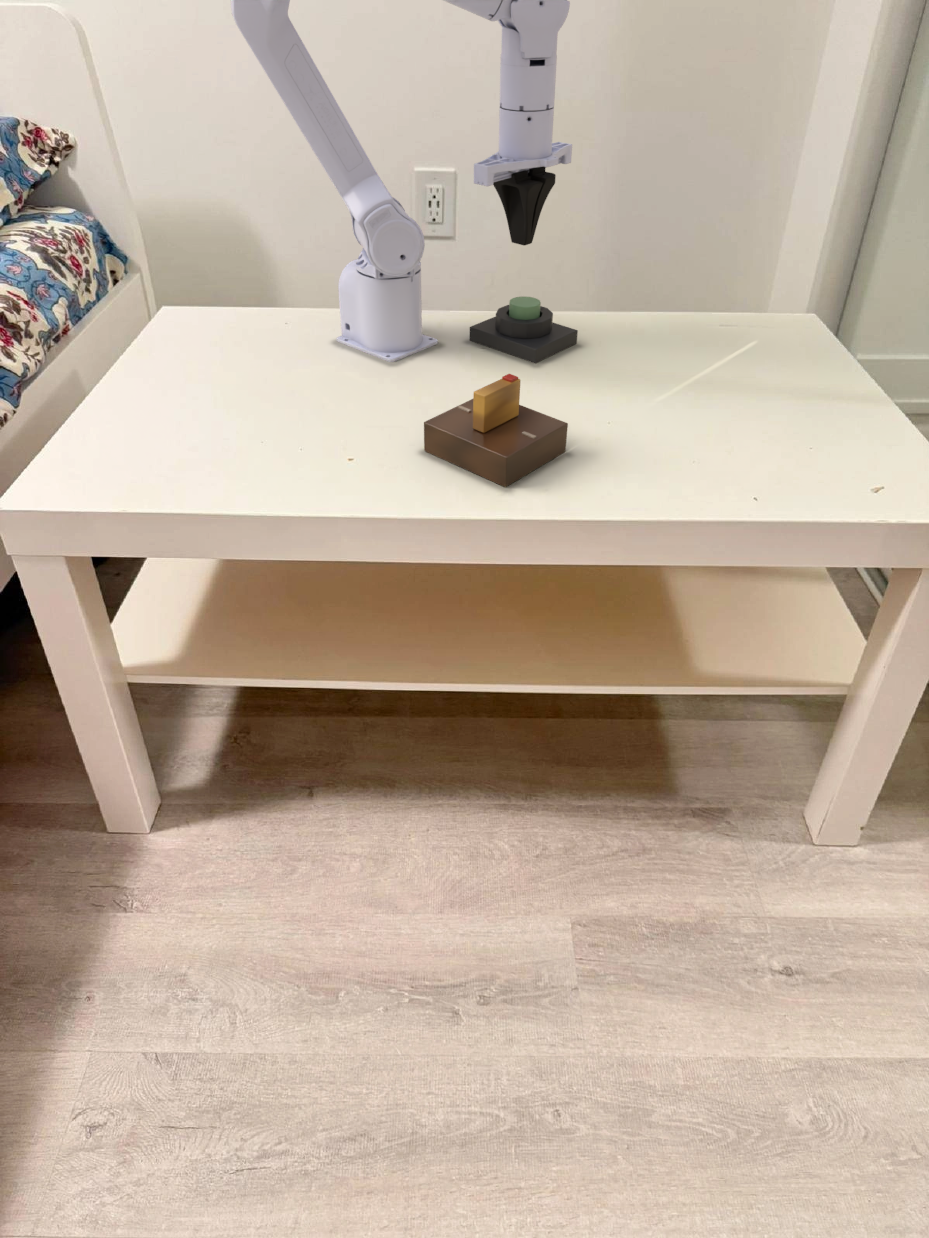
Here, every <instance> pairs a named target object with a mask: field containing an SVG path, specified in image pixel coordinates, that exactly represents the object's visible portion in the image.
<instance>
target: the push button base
mask: <svg viewBox="0 0 929 1238" xmlns="http://www.w3.org/2000/svg"><path fill="white" fill-rule="evenodd" d="M553 319H554V312H552V311H551V310H550V309H549V308H548V307H545V306H542V305H540V317H539V318H537V319H531V320H520V319H515V318H512V317H509V304H507V305H504V306H501V307H499V308H498V309H497V310H496V312H495V316H493V317H491V318H488V319H486V320H484V321H480V322H479V323H476V324H474V325H471V326H469V339H468V340H469V342H472V343H475V344H478V345H481V346H483V347H487V348H490V349H492V350H495V351H498V352H500V353H501V352H502V353H505V354H506V355H510V356H513V357H515V358H518V359H521V360H524V361H526V362H529V363H532V364H537V363H539V362H541V361H544V360H546V359H549V358H550V357H552V356H554V355H556V354H559V353H561V352H563V351H564V350H567V349H569V348H571V347H573V346H575V345H577V344H578V343H577V342H578V332H579V331H578V330H577V329H575V328H572V327H569V326H565V325H562V324H560V323H555V322H553Z"/></svg>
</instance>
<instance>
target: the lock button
mask: <svg viewBox="0 0 929 1238" xmlns="http://www.w3.org/2000/svg"><path fill="white" fill-rule="evenodd" d="M508 302H509V304H508V305H509V317H512V318H515V319H520V320H531V319H537V318H539V317H540V306H542V305H541V304H542V302H541V300H540V299H538V298H536V297H534V296H533V297H532V296H524V295H523V296H515V297H512V298H511V299H510V300H509V301H508Z"/></svg>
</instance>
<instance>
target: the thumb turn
mask: <svg viewBox="0 0 929 1238" xmlns="http://www.w3.org/2000/svg"><path fill="white" fill-rule="evenodd" d="M472 395H473V396H472V397H473V398H472V399H473V429H476V430H478V431H480V432H483V433H485V432H487V431H489V430H491V429H493V428H495V427H497V426H499V425H501V424H503V423H505V422H507V421H508V420H510V419H512V418H514V417H516V416H518V415H519V405H520V397H521V396H520V395H521V378H519V376H517V375H514V374H512V373H508V374H507V373H506V374H505V375H503V376H502V377H501V378H500V379H498V380H496V381H493V382H492V383H489V384H487V385H485V386H483V387H481V388H479V389H477V390H474V391H473V394H472Z"/></svg>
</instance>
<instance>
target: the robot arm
mask: <svg viewBox="0 0 929 1238" xmlns="http://www.w3.org/2000/svg"><path fill="white" fill-rule="evenodd" d="M442 1H443V2H446V3H448V4H451V5H453V6H455V7H458V8H460V9H462V10H464V11H467V12H469V13H471V14H473V15H475V16H478V17H480V18H483V19H484V20H487V21H489V22H498V24H499V25H500V26H501V45H500V46H501V47H500V48H501V51H500V66H499V109H498V111H499V114H498V151H497V152H495V153H494V154H492V155H490V156H488V157H486V158H484V159H483V160H480V161H478V162H475V163H473V184H475V185H480V186H484V187H491V186H493V187H494V189H495V191H496V192H497V195H498V197H499V199H500V202H501V204H502V207H503V210H504V214H505V217H506V221H507V226H508V231H509V236H510V240H511V243H512V244H516V245H520V246H528V245H531V244H533V240H534V237H535V234H536V229H537V226H538V223H539V220H540V217H541V212H542V210H543V208H544V205H545V202H546V201H547V199H548V196H549V194H550V193H551V190H552V189H553V188H554V186H555V184H556V177H557V175H556V174H555V173H553V172H548V171H546V168H550V167H554V166H557V165H561V164H562V165H568V164H571V163H572V155H573V144H572V143H568V142H562V141H556V142H553V134H554V133H553V132H554V116H555V115H554V114H555V98H556V96H555V95H556V81H557V80H556V79H557V64H558V63H557V60H558V55H557V54H558V53H557V51H558V35H559V31H560V30H561V28H562V27H563V26H564V24H565V22H566V19H567V17H568V16H569V15H568V14H569V12H570V5H571V2H570V0H442ZM290 2H291V0H230V11H231V15H232V18H233V21H234V23H235V25H236V27H237V29H238V30H239V32H240V33H241V36H242V37H243V38H244V40H245V42H246V43H247V45H248V46H249V49H250V50H251V52H252V53H253V56H255V58H256V60H257V61H258V63H259V65H260V66H261V68H262V69H263V71H264V73H265V74H266V76H267V78H268V80H269V81H270V83H271V85H272V86H273V88H274V89H275V91H276V93H277V94H278V96H279V97H280V99H281V101H282V102H283V103H284V106H285V107H286V109H287V111H288V112H289V114H290V116H291V117H292V119H293V121H294V123H295V124H296V125H297V127H298V129H299V130H300V132H301V134H302V136H303V137H304V138H305V140H306V142H307V143H308V145H309V147H310V149H311V150H312V152H313V154H314V155H315V157H316V158H317V160H318V162H319V164H320V165H321V167H322V168H323V170H324V172H325V173H326V175H327V177H328V178H329V180H330V181H331V183H332V185H333V186H334V188H335V189H336V191H337V193H338V195H339V197H340V198H341V200H342V201H343V203H344V205H345V207H346V208H347V210H348V213H349V214H350V219H351V227H352V232H353V236H354V238H355V240H356V242H357V243H358V244H359V245H360V246H361V247H362V249H361V250H360V253H359V255H358V257H357V258H355V259H353V260H350V261H349V262H348V263H347V264H346V265H345V266H344V268H343V269H342V271H341V273H340V275H339V280H338V284H337V285H338V286H337V287H338V288H337V289H338V290H337V291H338V303H339V316H340V329H341V335H340V336H337V337H336V342H337V343H339V344H342V345H344V346H348V347H350V348H351V349H355V350H357V351H360V352H363V353H366V354H368V355H370V356H373V357H375V358H378V359H380V360H383V361H386V362H388V363H394V362H397V361H399V360H403V359H404V358H407V357H410V356H412V355H414V354H417V353H419V352H421V351H424V350H426V349H429V348H432V347H434V346H436V345H438V344H439V340H438V339H437V338H434V337H431V336H429V335H426V334H423V306H422V305H423V303H422V264H421V263H422V262H421V260H422V258H423V255H424V252H425V237H424V233H423V230H422V228H421V226H420V225H419V224H418V223H417V221H416V220H414V219H413V218H412V217H411V216H410V215H409V214H408V213H407V212H406V210H405V208H404V207H403V205H402V203H401V202H400V201H399V200H398V199H397V198H395V197H393V196H392V194H391V193H390V191H389V190H388V188H387V186H386V185H385V183H384V182H383V181H382V179H381V177H380V175H379V174H378V172H377V171H376V169H375V167H374V165H373V163H372V161H371V160H370V158H369V156H368V155H367V153H366V151H365V148H363V146H362V144H361V142H360V140H359V139H358V137H357V135H356V133H355V131H354V129H353V128H352V126H351V124H350V123H349V121H348V119H347V118H346V116H345V114H344V112H343V110H342V109H341V107H340V105H339V103H338V101H337V100H336V98H335V97H334V94H333V93H332V91H331V90H330V88H329V85H328V84H327V82H326V80H325V78H324V77H323V75H322V74H321V71H320V70H319V69H318V67H317V64H316V63H315V62H314V59H313V58H312V56H311V54H310V53H309V51H308V49H307V47H306V45H305V44H304V42H303V40H302V39H301V37H300V34H299V33H298V31H297V30H296V27H295V26H294V24H293V22H292V20H291V19H290V17H289V8H290Z"/></svg>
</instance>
